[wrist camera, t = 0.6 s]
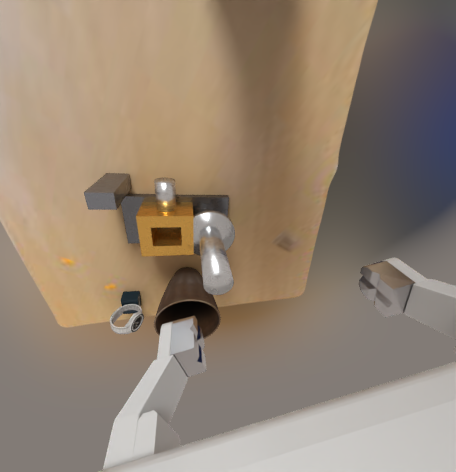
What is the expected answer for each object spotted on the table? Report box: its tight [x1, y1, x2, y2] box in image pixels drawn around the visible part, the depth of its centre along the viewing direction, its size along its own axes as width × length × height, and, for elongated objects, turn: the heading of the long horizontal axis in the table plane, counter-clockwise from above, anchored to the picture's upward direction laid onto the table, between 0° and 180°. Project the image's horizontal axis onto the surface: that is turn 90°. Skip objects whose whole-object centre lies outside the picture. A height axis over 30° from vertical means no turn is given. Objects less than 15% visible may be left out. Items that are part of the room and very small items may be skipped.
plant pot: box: [154, 267, 220, 339], centre depth 57 cm, size 15×15×16 cm
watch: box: [110, 291, 144, 334], centre depth 59 cm, size 6×8×11 cm
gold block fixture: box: [121, 178, 235, 295], centre depth 42 cm, size 17×24×24 cm
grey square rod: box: [84, 173, 131, 209], centre depth 42 cm, size 3×4×12 cm, turn 86°
